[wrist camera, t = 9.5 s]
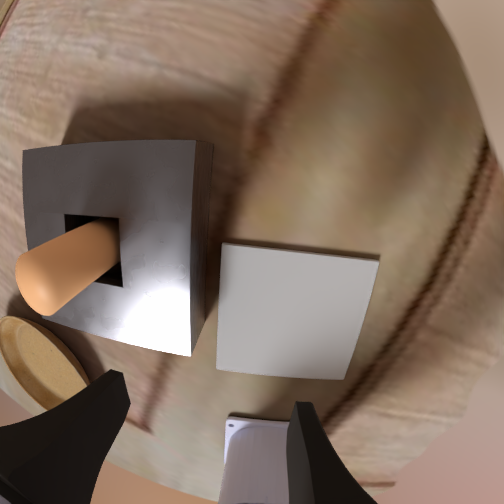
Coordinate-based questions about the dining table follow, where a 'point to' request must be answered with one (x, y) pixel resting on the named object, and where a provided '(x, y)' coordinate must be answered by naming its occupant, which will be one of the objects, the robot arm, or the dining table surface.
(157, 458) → the dining table surface
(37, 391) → the plant saucer
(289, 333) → the mat
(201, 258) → the socket block
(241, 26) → the dining table surface
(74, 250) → the peg
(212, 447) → the dining table surface
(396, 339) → the dining table surface
